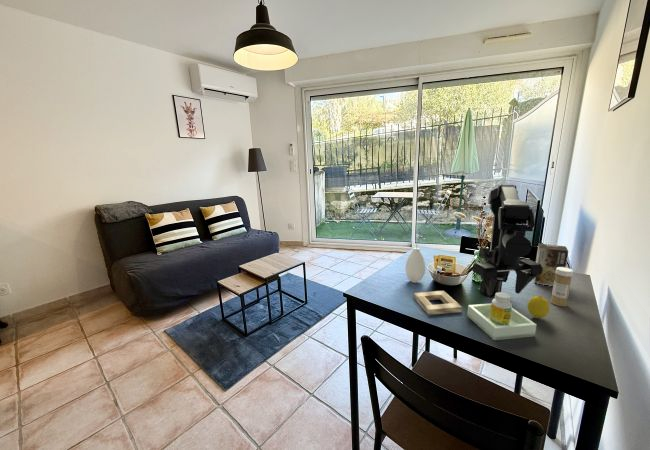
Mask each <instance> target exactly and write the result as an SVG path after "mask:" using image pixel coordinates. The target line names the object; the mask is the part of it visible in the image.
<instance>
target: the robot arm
mask: <svg viewBox="0 0 650 450" xmlns="http://www.w3.org/2000/svg"><path fill="white" fill-rule="evenodd" d="M487 202H488V205H489V210H490V211H491V214H492V215H493V217H492V226H491V229H492V230H491V237H490V247H489V248H488V247H487V248H479V250H478V257H479V259H483V262H475V263H473V265H472V270H471V271H472V272H473V273H475V274H477V275H478V276H479V277H480V280H481V281H480V287H478V288H477V290H478V291H479V292H480V293H482V294H483V295H485V296H487V297H488V298H495V293H497V292H502V287H503V283H507V281H508V279H509V275H510V272H515V274H516V277H515V278H516V279H515V285H514V289H515V290H514V291H515V293H516V294H520V293H521V292H522V291H523V290H524V289H525V288H526V287H527V285H529V283H530V282H532V281H533V279H534V278H535V277H537V276H538V274H542V270H543V268H542V266H541V264H539V263H536V261H533V260H531V259H528V258H526V259H525V258H524V259H521V258H523V257H525V256H527V255H529V253H531V251H532V247H533V246H532V243H531V241H530V239H528V238H527V236H526V232H533V231H534V228H535V226H536V223H535V221H536V220H535V213H534V212H533V208H531V206H530V205H529V203H528V202H527V201H522V200H521V199H520V197H519V191H518V190H517V185H515V184H504V183H503V184H498V186H497V187H496V188H494V189H492V190H490V192H489V195H488V199H487Z"/></svg>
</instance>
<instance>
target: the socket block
mask: <svg viewBox="0 0 650 450" xmlns="http://www.w3.org/2000/svg"><path fill="white" fill-rule="evenodd" d="M413 299H414V300H415V301H416V302H417V303H418V304H419V306H420V307H421V308H422V309H423V310H424V312H425V313H426V314H427V315H429V316H431V315H442V314H453V313H462V311H463V310H462V309H463V306H461V305H460V303H458V302H457V301H456V300H455V299H453V297H452V296H450V295H449V294H448V293H447V292H446V291H445V290H435V291H434V290H433V291H424V292H414V293H413ZM437 300H438V301H439V300H440V301H441V302H442V303H440V304H432V302H430V301H437Z"/></svg>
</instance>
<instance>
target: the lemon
mask: <svg viewBox="0 0 650 450" xmlns="http://www.w3.org/2000/svg"><path fill="white" fill-rule="evenodd" d="M527 310H528V312H529V314H530V315H532V316H533V317H534V318H535V319H539V318H540V319H541V318H542V319H543V318H545V317H547V315H548V314H549V311H550V304H549V302H548V300H547V299H546V298H545V297H542V296H541V295H535V296H533V297H531V298H530V299H529V301H528V304H527Z"/></svg>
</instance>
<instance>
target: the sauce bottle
mask: <svg viewBox="0 0 650 450" xmlns="http://www.w3.org/2000/svg"><path fill="white" fill-rule="evenodd" d="M415 243H416V244H415V247H413V248H412V250H411V251H410V253H409V255H408V256H407V259H406V262H405V267H404V268H405V274H406V278H407V279H408V280H409V281H410V282H411V283H413V284H417V283H420V281H422V280H423V279H424V276H425V273H426V262H425V258H424V255H423V253H422V252H421V249H420V248H419V247H418V243H417V242H415Z"/></svg>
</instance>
